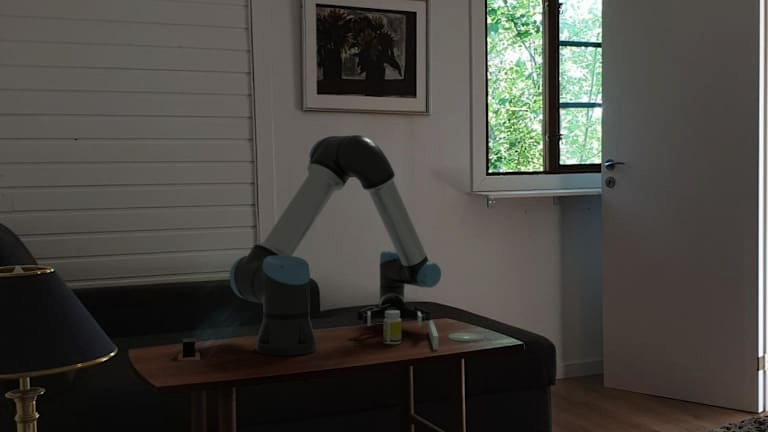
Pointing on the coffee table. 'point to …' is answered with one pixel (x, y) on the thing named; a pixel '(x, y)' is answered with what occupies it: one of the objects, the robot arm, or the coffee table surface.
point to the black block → (189, 348)
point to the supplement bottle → (392, 327)
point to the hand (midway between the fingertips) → (394, 320)
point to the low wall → (433, 334)
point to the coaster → (465, 337)
